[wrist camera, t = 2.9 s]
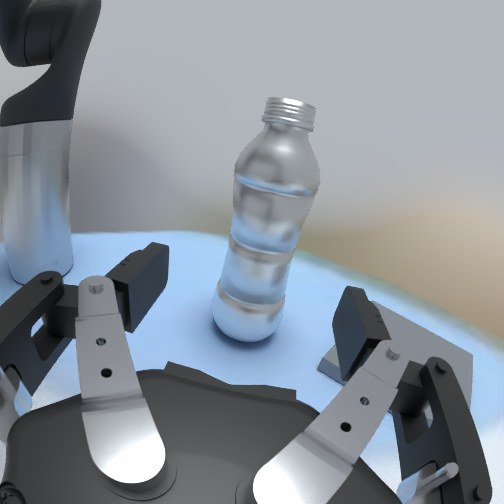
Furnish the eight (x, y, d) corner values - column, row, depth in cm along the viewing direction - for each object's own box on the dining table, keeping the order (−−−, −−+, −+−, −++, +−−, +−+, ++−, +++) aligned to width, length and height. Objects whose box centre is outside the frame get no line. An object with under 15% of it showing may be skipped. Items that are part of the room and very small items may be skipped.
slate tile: (317, 368, 22) (322, 357, 21) (368, 310, 32) (372, 300, 32) (455, 446, 13) (465, 436, 13) (466, 363, 23) (472, 354, 23)
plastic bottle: (264, 305, 30) (309, 114, 21) (286, 349, 24) (354, 116, 16) (205, 306, 27) (237, 97, 19) (216, 354, 22) (264, 87, 13)
